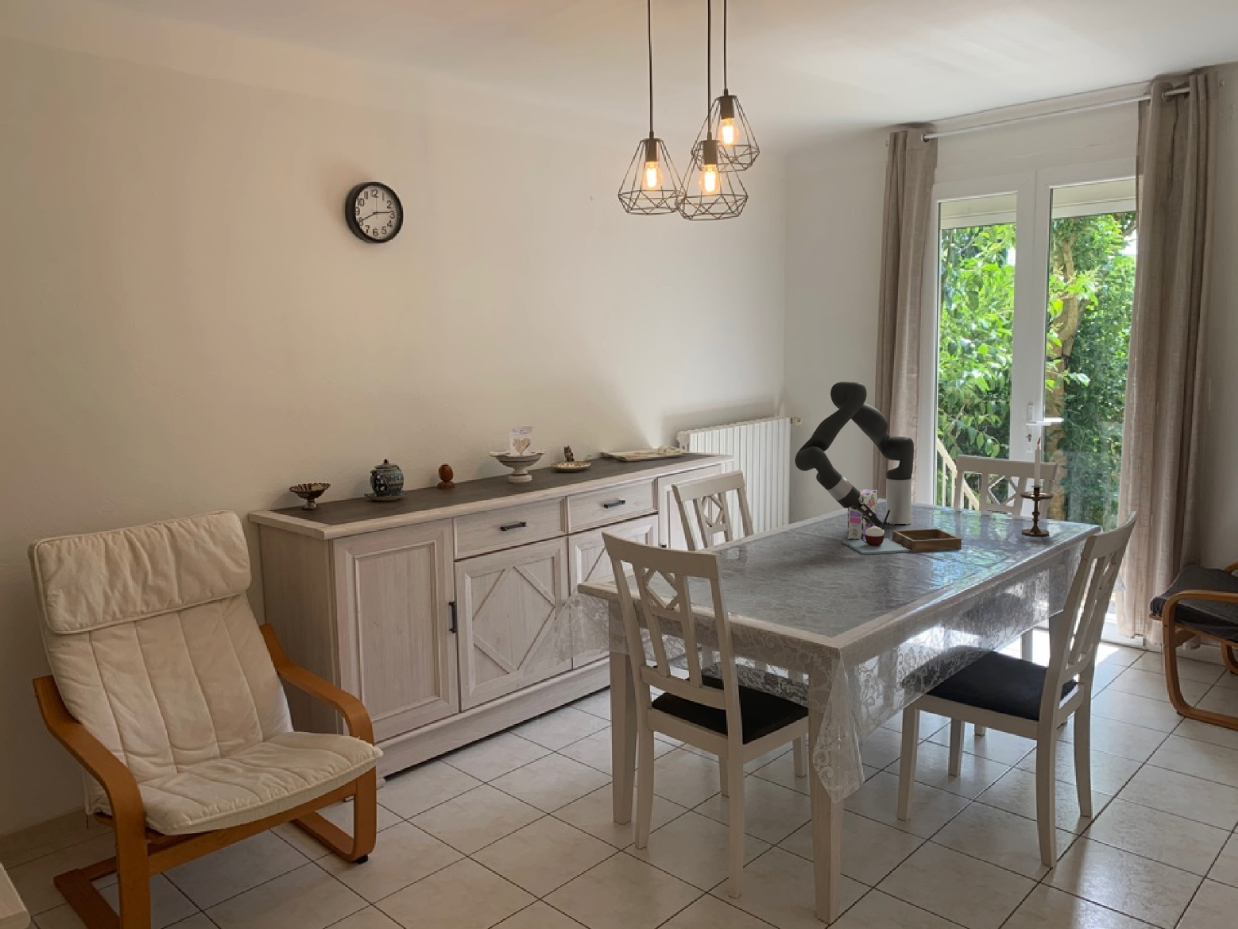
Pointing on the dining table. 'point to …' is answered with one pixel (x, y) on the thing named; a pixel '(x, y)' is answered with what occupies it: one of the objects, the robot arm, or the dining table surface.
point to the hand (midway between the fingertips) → (875, 523)
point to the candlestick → (1036, 497)
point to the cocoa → (875, 534)
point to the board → (876, 547)
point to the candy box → (856, 521)
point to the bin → (910, 540)
